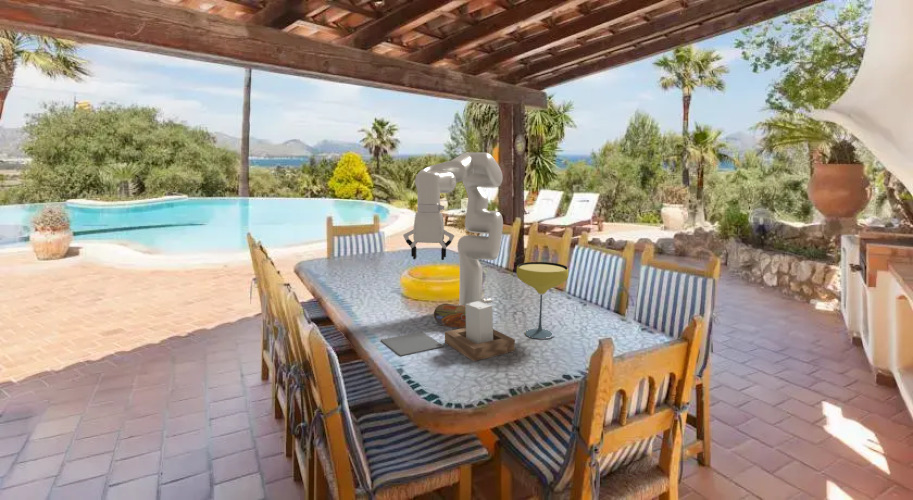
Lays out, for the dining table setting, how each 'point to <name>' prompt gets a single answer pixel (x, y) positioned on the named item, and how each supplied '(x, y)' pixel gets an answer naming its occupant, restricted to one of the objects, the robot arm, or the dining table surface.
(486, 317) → the skincare box
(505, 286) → the dining table surface
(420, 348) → the mat
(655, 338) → the dining table surface
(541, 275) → the cocktail glass
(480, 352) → the frame
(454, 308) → the tin
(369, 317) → the dining table surface
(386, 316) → the dining table surface
